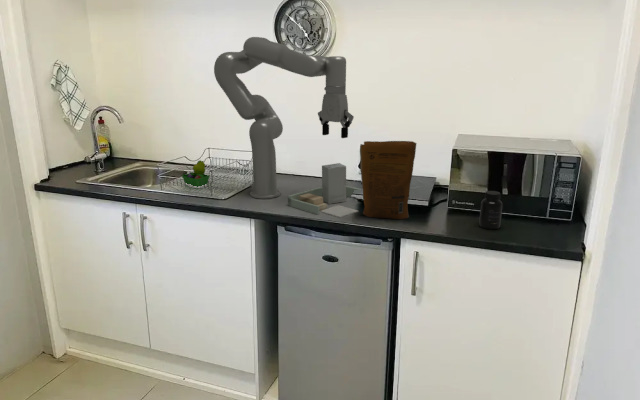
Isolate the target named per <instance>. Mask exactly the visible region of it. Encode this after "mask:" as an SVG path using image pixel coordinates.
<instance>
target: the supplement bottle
mask: <svg viewBox="0 0 640 400" xmlns="http://www.w3.org/2000/svg"><path fill="white" fill-rule="evenodd" d="M503 204H504V203H503V202H502V201H501V192H499V191H496V190H487V191H485V193H484V199H482V200H481V202H480V210H479V211H480V212H479V220H478V221H479V223H478V225H479V227H481V228H483V229H486V230H497V229H499V228H500V227H501V222H502V221H501V220H502V213H503Z"/></svg>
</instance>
